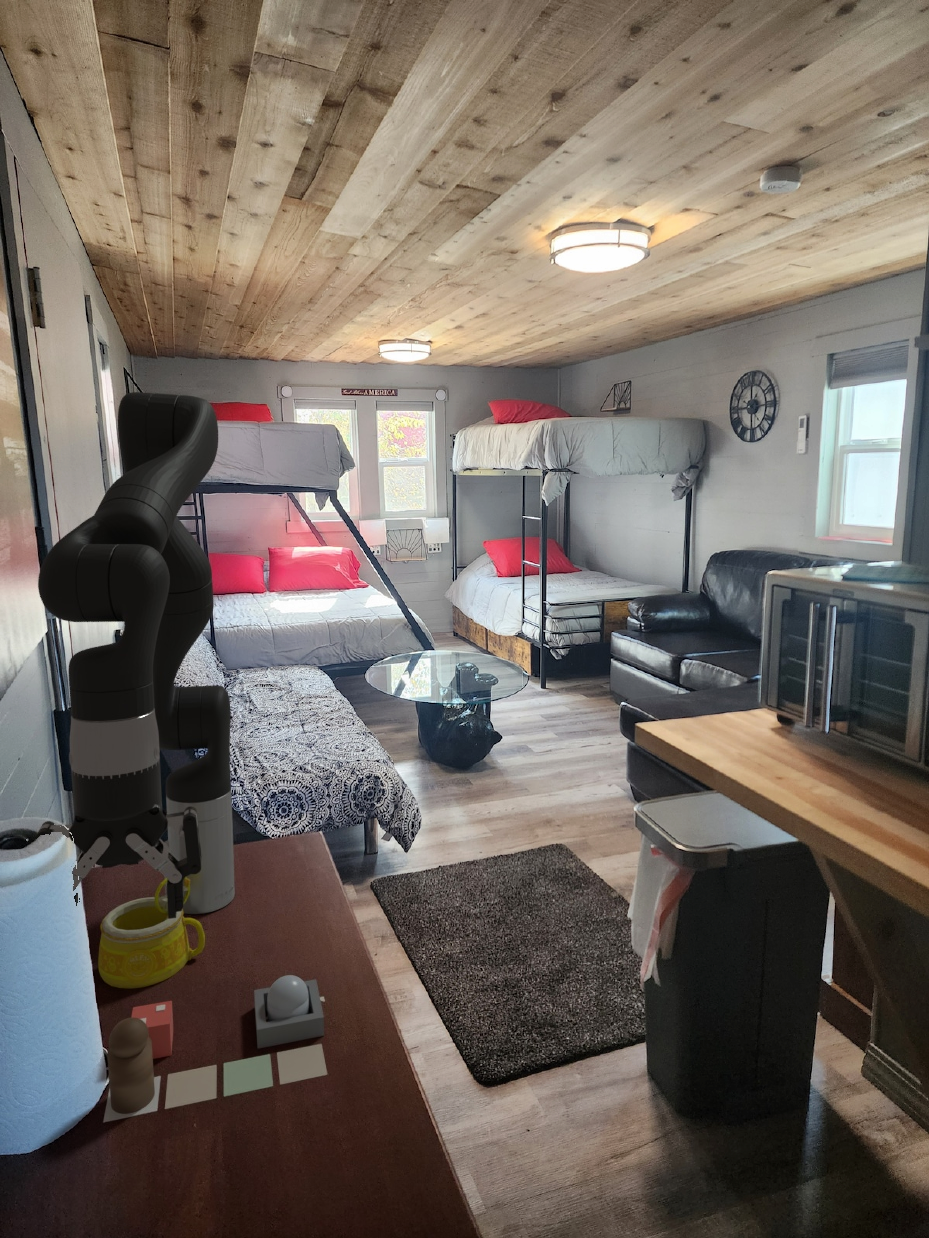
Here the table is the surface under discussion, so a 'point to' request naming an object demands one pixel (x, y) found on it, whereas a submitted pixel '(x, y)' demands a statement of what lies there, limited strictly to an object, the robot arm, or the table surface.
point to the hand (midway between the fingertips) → (125, 921)
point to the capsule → (287, 998)
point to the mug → (145, 942)
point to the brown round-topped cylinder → (130, 1066)
